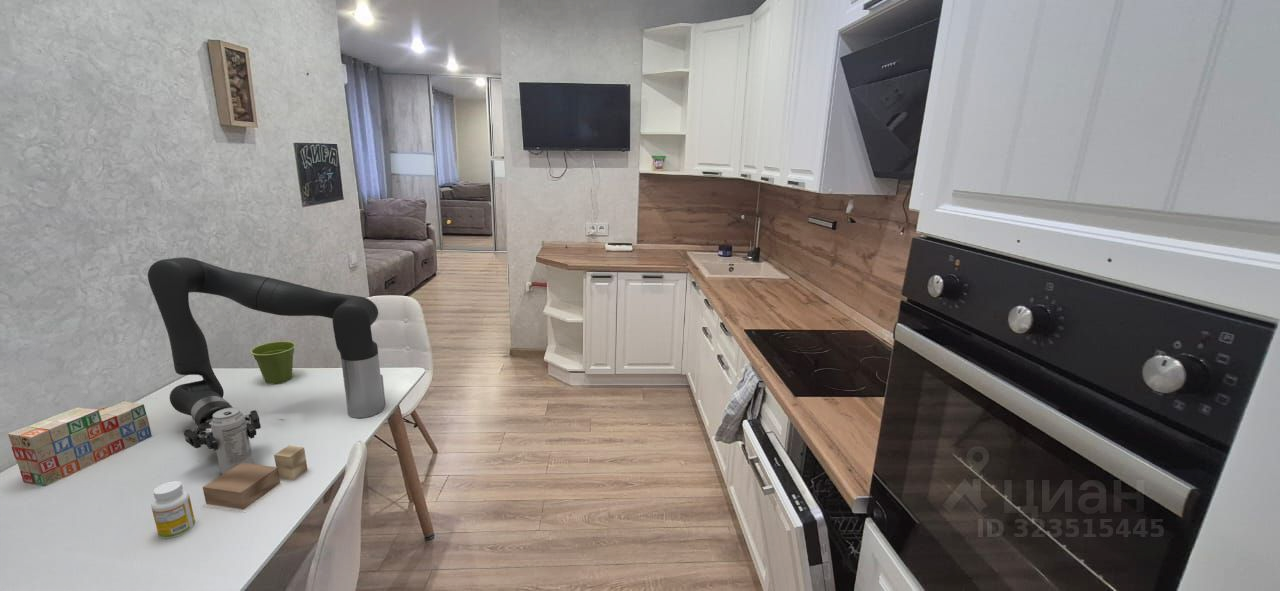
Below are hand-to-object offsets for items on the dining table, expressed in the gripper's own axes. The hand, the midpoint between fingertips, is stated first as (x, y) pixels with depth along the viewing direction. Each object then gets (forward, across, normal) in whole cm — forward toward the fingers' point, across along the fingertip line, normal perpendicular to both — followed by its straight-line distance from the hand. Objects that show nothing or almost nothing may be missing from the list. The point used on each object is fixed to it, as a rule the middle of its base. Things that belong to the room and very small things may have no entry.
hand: (234, 440), depth 114 cm
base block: (+9, -2, +8) cm, 12 cm away
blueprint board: (+9, +1, +9) cm, 13 cm away
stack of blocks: (-33, -21, +9) cm, 40 cm away
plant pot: (-51, +23, +9) cm, 57 cm away
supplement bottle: (+12, -13, +9) cm, 20 cm away
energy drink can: (-2, 0, +9) cm, 10 cm away
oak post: (+9, +8, +9) cm, 14 cm away
